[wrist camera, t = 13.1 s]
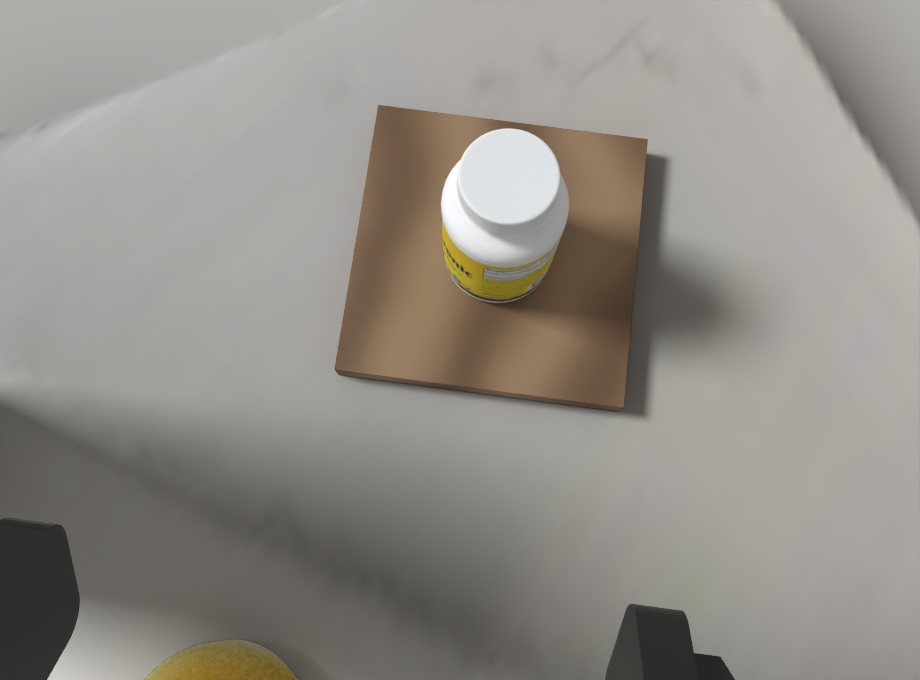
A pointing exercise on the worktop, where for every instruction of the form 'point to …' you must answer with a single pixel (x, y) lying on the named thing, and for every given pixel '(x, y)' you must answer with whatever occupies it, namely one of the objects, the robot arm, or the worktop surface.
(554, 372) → the walnut board
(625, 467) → the worktop surface
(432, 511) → the worktop surface
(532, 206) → the supplement bottle
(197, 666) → the bread roll
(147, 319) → the worktop surface
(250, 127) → the worktop surface
